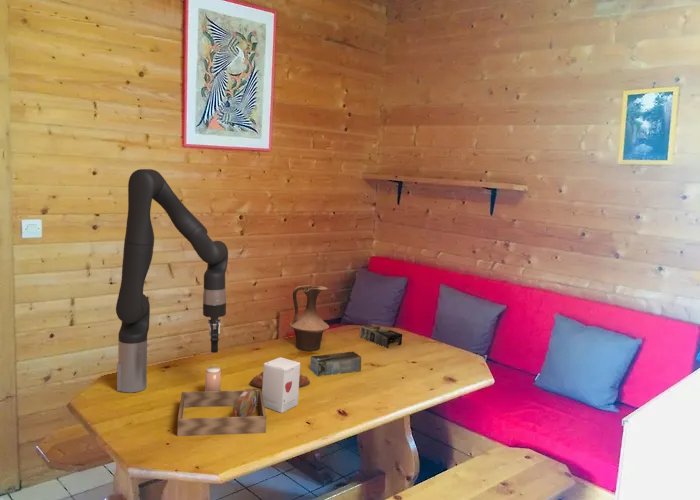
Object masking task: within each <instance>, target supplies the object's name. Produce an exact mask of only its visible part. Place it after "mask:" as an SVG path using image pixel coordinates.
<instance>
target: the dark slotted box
mask: <svg viewBox="0 0 700 500" xmlns="http://www.w3.org/2000/svg"><path fill="white" fill-rule="evenodd" d="M359 331H360V332H359V333H360V335H359V337H360V338H362V339H363V338H364V340H365V339H366V340H365V341H368V340H369V341H368V342H371V343H373V342H374V343H373V344H375V343H376V345H378V344H379V345H378V346H380V345H381V346H380V347H382V346H384V347H383V348H385V347H386V348H385V349H389V344H390V342H392V341H393V342H392V343H395V342H396V343H397V345H398V346H400V345H402V343H403V334H402V333H400V332H398V331H394V330H392V329H388V328H386V327H383V326H381V325H378V324H375V323H374V324H373V323H372V324H367V325H363V326H360V330H359ZM390 340H391V341H390Z"/></svg>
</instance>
